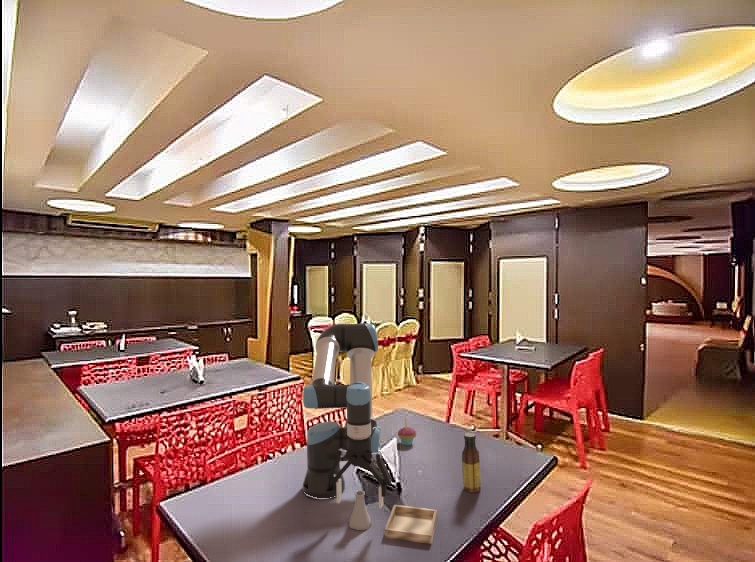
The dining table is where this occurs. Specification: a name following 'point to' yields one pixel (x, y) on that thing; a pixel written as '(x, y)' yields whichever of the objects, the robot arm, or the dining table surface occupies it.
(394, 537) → the serving tray
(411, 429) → the cupcake
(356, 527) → the flask
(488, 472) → the dining table surface
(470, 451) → the sauce bottle
